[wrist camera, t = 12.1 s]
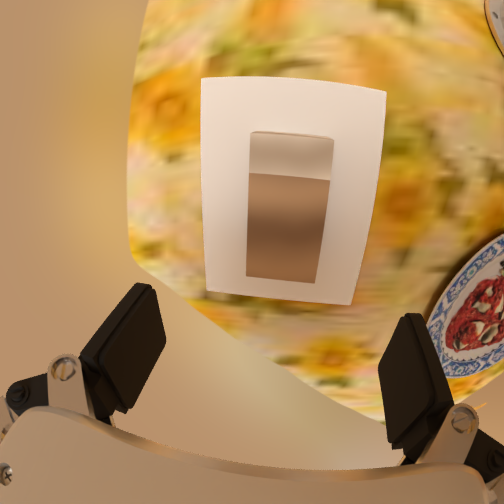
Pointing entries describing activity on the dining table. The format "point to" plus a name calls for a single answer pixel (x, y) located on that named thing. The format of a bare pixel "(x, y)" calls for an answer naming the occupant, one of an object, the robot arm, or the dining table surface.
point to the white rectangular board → (237, 176)
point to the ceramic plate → (472, 315)
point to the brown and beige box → (287, 204)
